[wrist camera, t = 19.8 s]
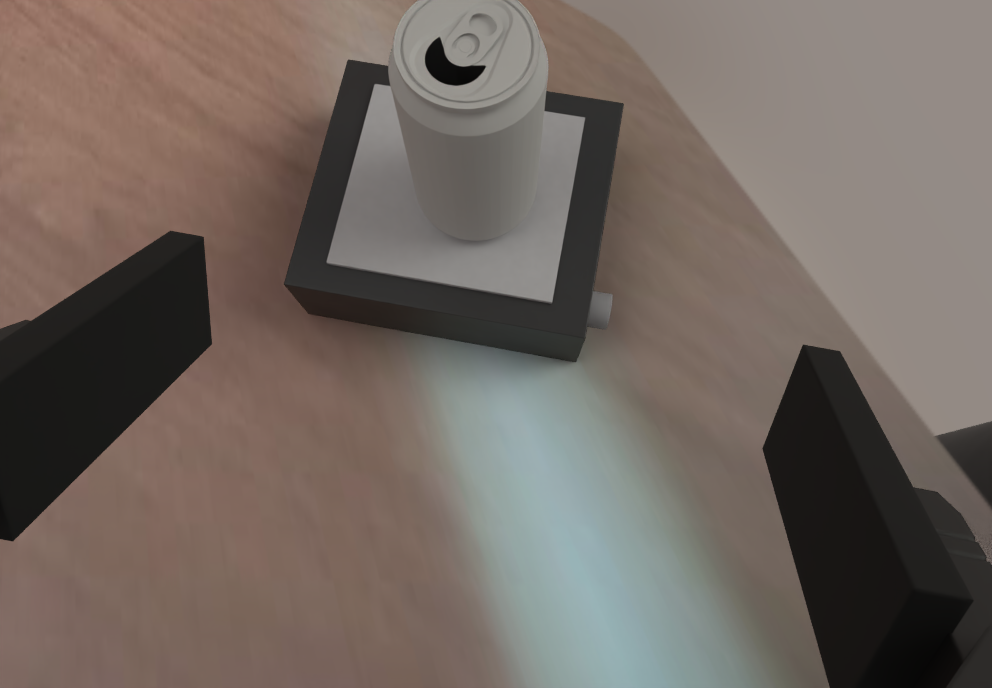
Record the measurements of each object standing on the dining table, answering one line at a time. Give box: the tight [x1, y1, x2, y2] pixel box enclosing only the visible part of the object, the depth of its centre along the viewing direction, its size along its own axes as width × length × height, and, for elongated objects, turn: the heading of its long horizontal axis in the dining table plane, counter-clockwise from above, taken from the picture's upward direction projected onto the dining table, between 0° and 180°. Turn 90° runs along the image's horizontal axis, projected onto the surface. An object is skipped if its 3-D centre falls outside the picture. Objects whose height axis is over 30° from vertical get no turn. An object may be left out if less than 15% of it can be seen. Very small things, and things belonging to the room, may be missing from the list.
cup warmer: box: [284, 60, 624, 362], centre depth 42 cm, size 17×14×5 cm
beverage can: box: [388, 0, 548, 241], centre depth 34 cm, size 6×6×12 cm
